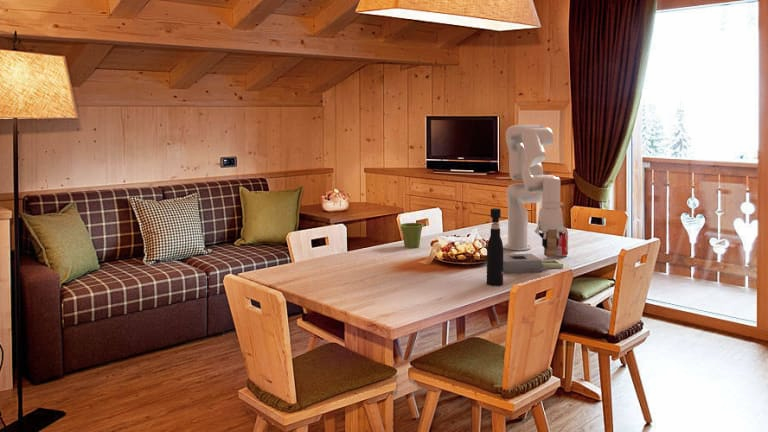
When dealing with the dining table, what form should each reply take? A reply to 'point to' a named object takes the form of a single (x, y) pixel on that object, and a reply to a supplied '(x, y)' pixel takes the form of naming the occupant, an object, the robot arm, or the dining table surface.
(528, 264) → the block
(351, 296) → the dining table surface
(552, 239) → the walnut peg
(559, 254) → the soda can
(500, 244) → the wine bottle
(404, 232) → the plant pot
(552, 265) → the holder tray
